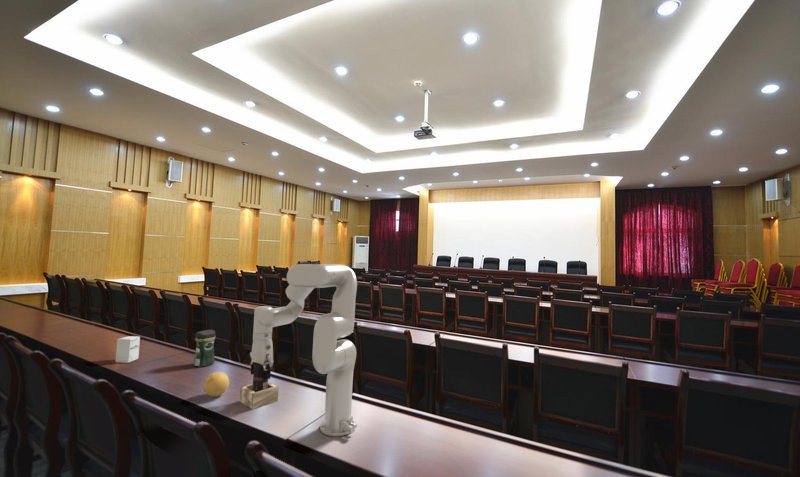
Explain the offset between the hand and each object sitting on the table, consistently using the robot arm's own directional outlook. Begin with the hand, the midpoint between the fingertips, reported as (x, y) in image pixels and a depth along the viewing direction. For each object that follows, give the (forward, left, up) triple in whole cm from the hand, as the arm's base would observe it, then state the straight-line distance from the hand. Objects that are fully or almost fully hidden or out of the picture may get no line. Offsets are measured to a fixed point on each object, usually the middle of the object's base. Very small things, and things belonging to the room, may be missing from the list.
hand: (260, 376), depth 145 cm
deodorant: (0, 0, -10) cm, 10 cm away
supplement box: (+99, +23, -10) cm, 102 cm away
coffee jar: (+64, -3, -10) cm, 65 cm away
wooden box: (0, 0, -10) cm, 10 cm away
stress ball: (+18, +10, -10) cm, 23 cm away
